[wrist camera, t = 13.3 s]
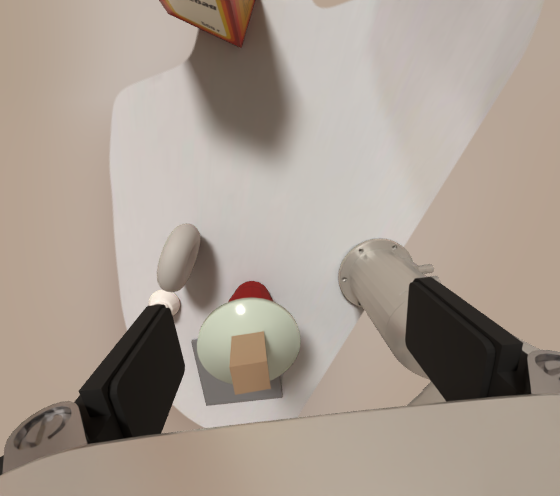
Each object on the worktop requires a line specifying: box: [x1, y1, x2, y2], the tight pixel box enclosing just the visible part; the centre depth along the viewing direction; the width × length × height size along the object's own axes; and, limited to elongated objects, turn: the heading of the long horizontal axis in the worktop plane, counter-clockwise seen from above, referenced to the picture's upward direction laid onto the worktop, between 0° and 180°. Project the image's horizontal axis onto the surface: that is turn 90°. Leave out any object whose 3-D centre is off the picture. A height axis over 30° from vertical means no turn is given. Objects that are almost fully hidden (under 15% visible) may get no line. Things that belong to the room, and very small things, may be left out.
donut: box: [157, 224, 200, 292], centre depth 38 cm, size 10×4×10 cm, turn 162°
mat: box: [191, 339, 282, 406], centre depth 51 cm, size 15×15×1 cm
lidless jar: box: [148, 290, 180, 316], centre depth 44 cm, size 5×3×5 cm
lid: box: [197, 298, 300, 395], centre depth 32 cm, size 13×13×6 cm
